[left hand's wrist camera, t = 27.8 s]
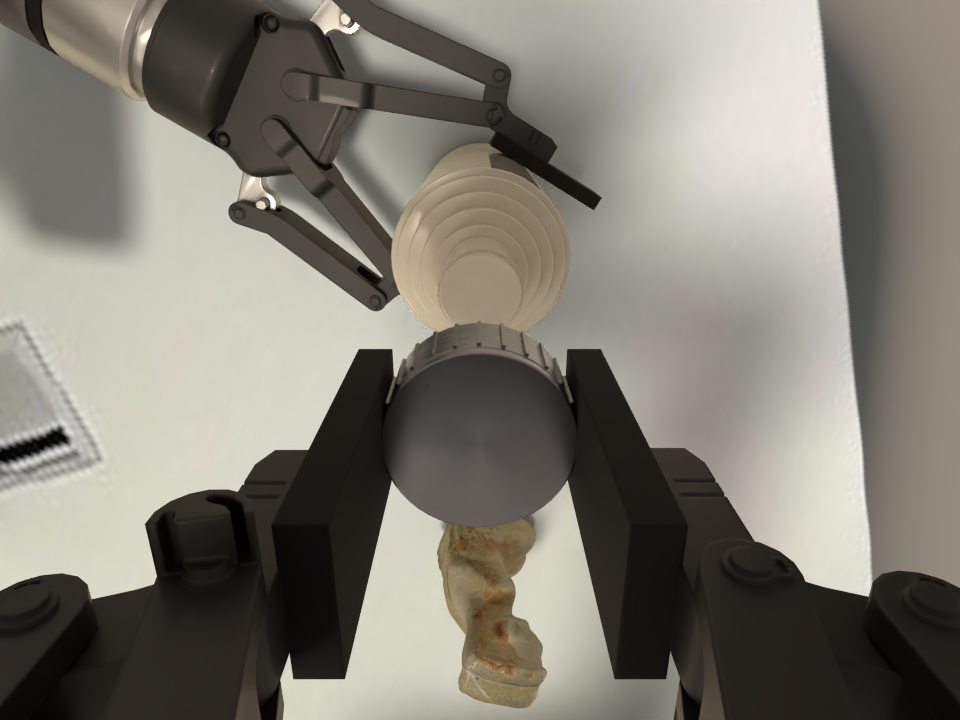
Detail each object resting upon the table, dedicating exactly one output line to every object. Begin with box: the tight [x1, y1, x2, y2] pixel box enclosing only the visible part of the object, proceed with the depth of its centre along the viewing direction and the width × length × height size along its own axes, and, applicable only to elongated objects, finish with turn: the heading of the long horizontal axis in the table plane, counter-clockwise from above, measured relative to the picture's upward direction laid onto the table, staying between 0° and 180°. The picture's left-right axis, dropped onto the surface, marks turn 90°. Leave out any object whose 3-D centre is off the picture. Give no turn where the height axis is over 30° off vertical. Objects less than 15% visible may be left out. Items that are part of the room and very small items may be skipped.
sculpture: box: [437, 519, 547, 708], centre depth 44 cm, size 6×7×15 cm
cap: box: [382, 321, 577, 527], centre depth 14 cm, size 4×4×2 cm
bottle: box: [391, 143, 570, 332], centre depth 32 cm, size 8×8×21 cm
